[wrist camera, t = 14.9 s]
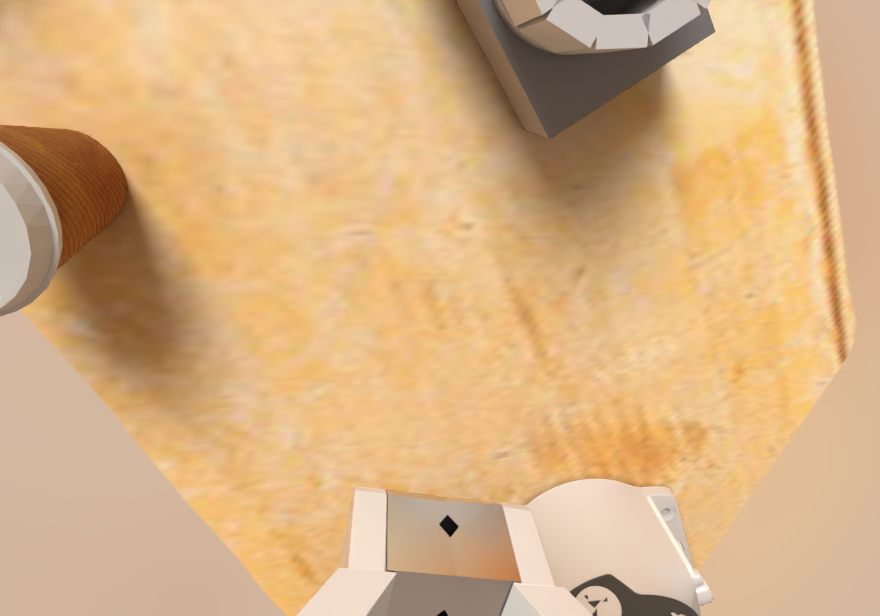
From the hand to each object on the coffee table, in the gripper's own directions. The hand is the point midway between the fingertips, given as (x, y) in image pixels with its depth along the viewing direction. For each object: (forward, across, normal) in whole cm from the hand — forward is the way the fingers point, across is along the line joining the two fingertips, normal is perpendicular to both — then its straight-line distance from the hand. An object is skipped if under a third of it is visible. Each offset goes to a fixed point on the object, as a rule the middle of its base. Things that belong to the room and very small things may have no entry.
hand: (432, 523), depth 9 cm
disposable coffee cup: (+29, +20, +4) cm, 36 cm away
